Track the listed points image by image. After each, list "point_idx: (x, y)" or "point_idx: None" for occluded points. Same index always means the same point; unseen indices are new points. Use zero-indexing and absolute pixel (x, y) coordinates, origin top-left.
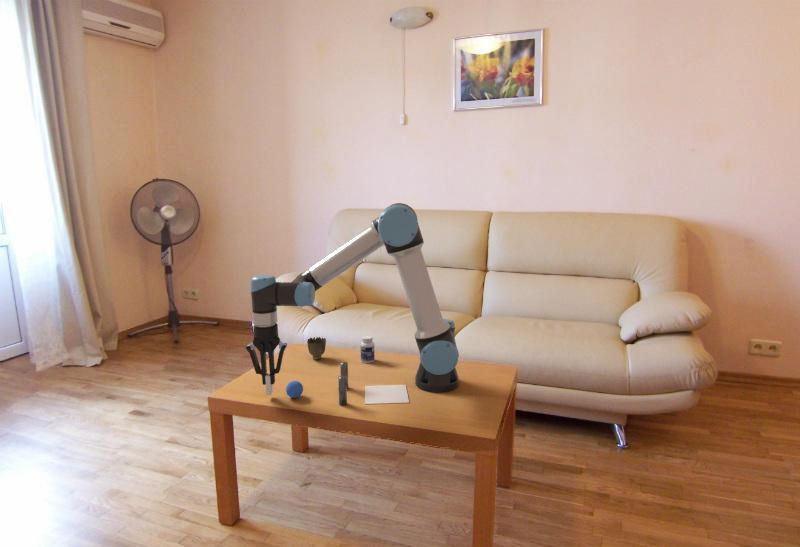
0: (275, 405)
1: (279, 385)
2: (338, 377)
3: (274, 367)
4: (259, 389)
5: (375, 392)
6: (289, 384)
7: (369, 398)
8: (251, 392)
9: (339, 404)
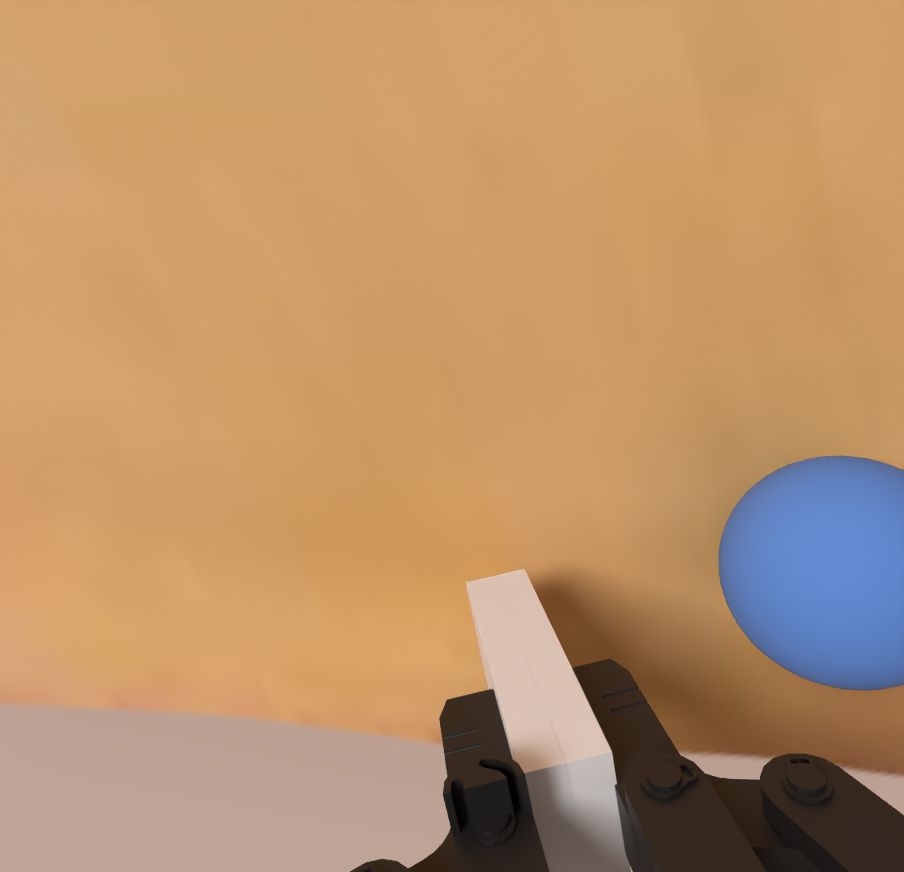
0: None
1: (479, 199)
2: None
3: (752, 861)
4: (250, 374)
5: None
6: (845, 669)
7: None
8: (188, 481)
9: None
